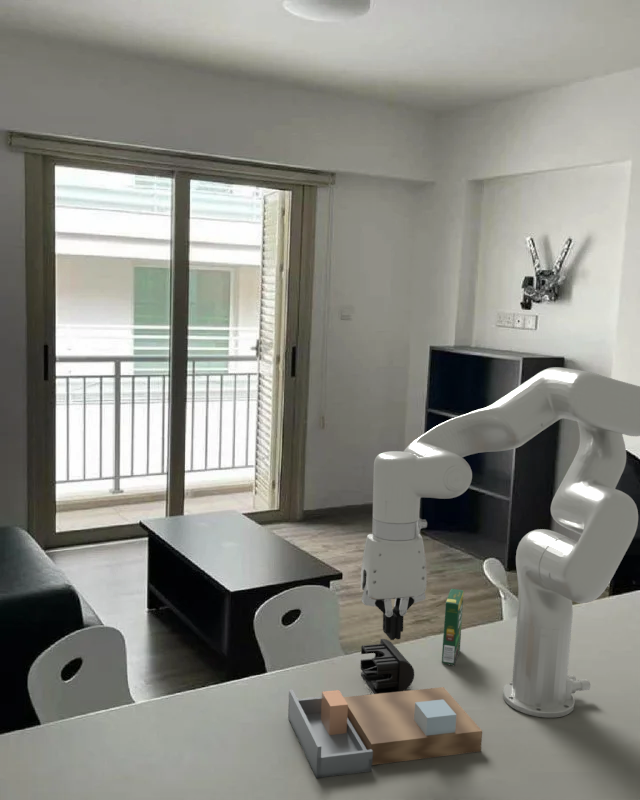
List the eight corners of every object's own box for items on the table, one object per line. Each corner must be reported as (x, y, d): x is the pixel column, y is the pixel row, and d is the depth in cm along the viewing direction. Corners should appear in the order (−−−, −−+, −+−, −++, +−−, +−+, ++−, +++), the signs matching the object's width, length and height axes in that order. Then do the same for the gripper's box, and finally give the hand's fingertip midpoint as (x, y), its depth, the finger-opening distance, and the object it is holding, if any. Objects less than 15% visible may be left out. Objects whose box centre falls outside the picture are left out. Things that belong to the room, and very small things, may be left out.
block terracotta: (339, 690, 139) (322, 691, 138) (347, 704, 134) (330, 706, 133) (337, 717, 139) (320, 719, 139) (346, 733, 135) (329, 735, 134)
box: (337, 712, 142) (338, 685, 142) (371, 771, 125) (373, 740, 124) (288, 717, 140) (289, 689, 139) (316, 778, 123) (317, 746, 122)
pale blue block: (442, 716, 135) (443, 699, 135) (455, 732, 130) (456, 714, 130) (414, 719, 134) (415, 702, 134) (426, 735, 129) (427, 717, 129)
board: (442, 705, 146) (443, 687, 146) (480, 751, 132) (482, 730, 131) (341, 716, 141) (342, 697, 140) (370, 765, 127) (371, 744, 126)
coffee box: (455, 667, 162) (459, 603, 160) (440, 664, 162) (444, 601, 161) (460, 650, 169) (464, 589, 168) (446, 648, 170) (450, 587, 168)
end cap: (413, 694, 150) (415, 659, 149) (377, 698, 148) (379, 663, 147) (393, 670, 159) (395, 637, 159) (359, 673, 157) (360, 640, 156)
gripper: (430, 519, 138) (426, 623, 140) (344, 524, 134) (342, 631, 137) (447, 532, 131) (443, 641, 133) (358, 538, 127) (355, 650, 129)
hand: (392, 636), depth 135 cm, fingers closed
